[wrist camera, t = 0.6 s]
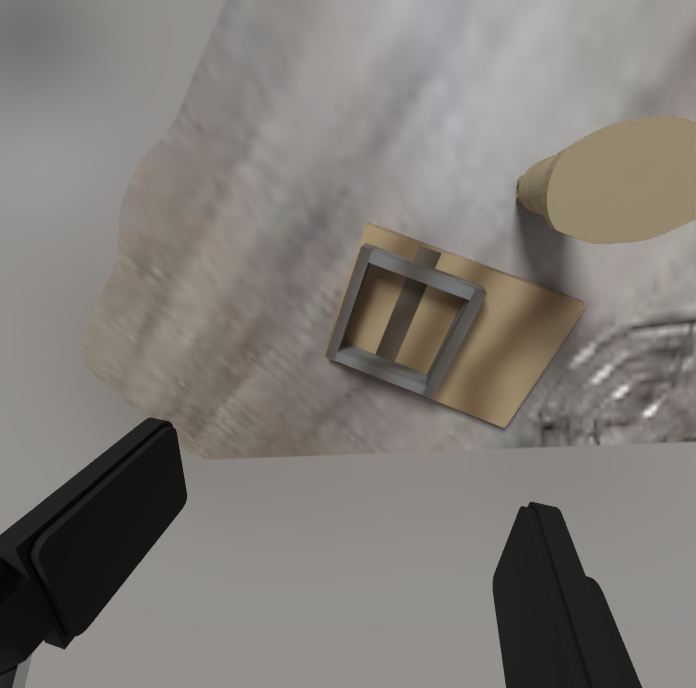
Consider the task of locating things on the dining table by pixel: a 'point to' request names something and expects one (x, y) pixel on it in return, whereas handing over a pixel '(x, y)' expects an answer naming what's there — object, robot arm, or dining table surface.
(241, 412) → the dining table surface
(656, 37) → the dining table surface
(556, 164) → the handle
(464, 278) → the subfloor panel
